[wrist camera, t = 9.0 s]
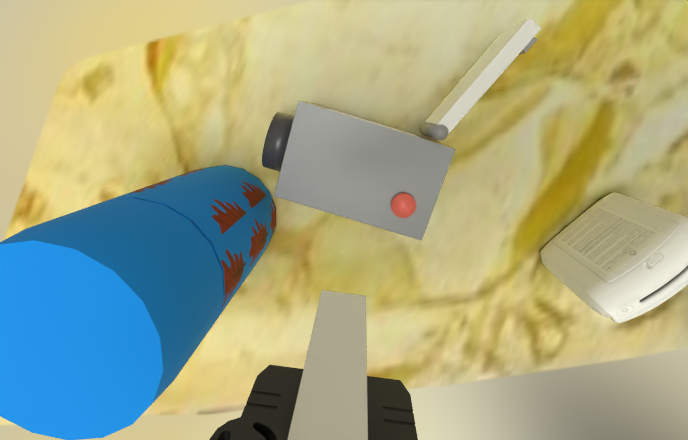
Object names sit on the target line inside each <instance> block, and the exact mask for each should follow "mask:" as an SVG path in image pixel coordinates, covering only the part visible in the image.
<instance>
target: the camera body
mask: <svg viewBox="0 0 688 440" xmlns="http://www.w3.org/2000/svg"><path fill="white" fill-rule="evenodd" d="M454 151H455V149H454V148H451V147H449V146H446V145H444V144H442V143H439V142H436V141H433V140H430V139H427V138H423V137H420V136H417V135H414V134H411V133H408V132H405V131H402V130H398V129H395V128H392V127H389V126H386V125H382V124H379V123H376V122H373V121H369V120H366V119H363V118H360V117H356V116H353V115H350V114H347V113H343V112H340V111H337V110H334V109H329V108H326V107H323V106H320V105H317V104H313V103H309V102H303V101H298V104H297V108H296V112H295V116H294V117H293V116H289V115H286V114H283V113H280V112H277V113H276V114H275V116H274V118H273V120H272V122H271V124H270V127H269V130H268V133H267V136H266V140H265V144H264V149H263V155H262V164H263V167H267V168H270V169H273V170H276V171H280V175H279V178H278V182H277V186H276V190H275V194H274V196H275V197H279V198H282V199H285V200H289V201H292V202H295V203H299V204H302V205H305V206H309V207H312V208H315V209H319V210H322V211H325V212H329V213H332V214H335V215H339V216H342V217H345V218H349V219H352V220H355V221H359V222H362V223H365V224H368V225H372V226H375V227H378V228H382V229H385V230H388V231H392V232H395V233H398V234H402V235H405V236H408V237H412V238H415V239H418V240H422V238H423V235H424V232H425V230H426V227H427V224H428V222H429V219H430V216H431V214H432V211H433V208H434V205H435V203H436V200H437V197H438V195H439V192H440V189H441V186H442V184H443V181H444V178H445V176H446V173H447V170H448V167H449V165H450V162H451V159H452V157H453V154H454Z"/></svg>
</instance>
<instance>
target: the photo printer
mask: <svg viewBox="0 0 688 440" xmlns="http://www.w3.org/2000/svg"><path fill="white" fill-rule="evenodd" d="M540 254H541V260H542V263H543V264H544V266H545V267H546V268H547V269H548V270H549V271H550V272H552V273H553V274H554V275H555V276H556V277H557V278H558V279H559V280H560V281H561V282H563V283H564V284H565V285H566V286H567V287H568V288H569V289H570V290H571V291H573V292H574V293H575V294H576V295H577V296H578V297H579V298H580V299H582V300H583V301H584V302H585V303H586V304H587V305H588V306H590V307H591V308H592V309H593V310H595V311H596V312H597V313H599V314H601V315H603V316H605V317H609V318H610V319H612V320H613V321H614V322H616V323H621V322H624V321H627V320H630V319H633V318H635V317H637V316H640V315H642V314H643V313H645V312H647V311H649V310H651V309H653V308H655V307H656V306H658V305H660V304H661V303H663V302H664V301H666V300H668V299H669V298H671V297H672V296H673V295H675V294H676V293H678V292H679V291H680V290H681V289H683V288H684V287H685V286H687V285H688V217H686V216H683V215H681V214H678V213H675V212H672V211H669V210H666V209H663V208H660V207H657V206H654V205H651V204H648V203H645V202H642V201H640V200H637V199H634V198H631V197H628V196H625V195H622V194H619V193H616V192H613V193H610V194H609V195H607V196H605V197H604V198H602V199H601V200H599V201H598V202H597V203H596V204H594V205H593V206H592V207H591V208H589V209H588V210H587V211H586V212H584V213H583V214H582V215H581V216H579V217H578V218H577V219H576V220H575V221H573V222H572V223H571V224H570V225H569V226H567V227H566V228H565V229H564V230H563V231H561V232H560V233H559V234H558V235H557V236H555V237H554V238H553V239H552V240H551V241H550V242H549V243H548V244H547V245H546V246H545V247H544V248H543V249H542V250H541V252H540Z"/></svg>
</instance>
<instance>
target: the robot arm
mask: <svg viewBox="0 0 688 440" xmlns="http://www.w3.org/2000/svg"><path fill="white" fill-rule="evenodd" d="M210 440H418V439H417V433H416V427H415V421H414V415H413V409H412V403H411V396H410V394H409V392H408V391H407V389H406V388H405V386H404V385H403V384H402V382H401V381H400V380H393V379H385V378H378V377H370V376H367V346H366V296H364V295H356V294H348V293H340V292H332V291H324V290H322V292H321V296H320V301H319V305H318V309H317V314H316V318H315V322H314V327H313V331H312V335H311V340H310V344H309V348H308V353H307V357H306V361H305V366H304V369H298V368H290V367H283V366H275V365H269V366H268V367H267V368H266V369H265V370H263V371H262V372H261V373H260V374H259V375H258V376H257V378H256V381H255V383H254V386H253V388H252V391H251V393H250V396H249V398H248V401H247V404H246V406H245V408H244V411H243V413H242V416H241V417H240V418H237V419H234V420H231V421H228V422H227V423H225V424H224V425H222V426H221V427H219V428H218V429H217V430H216V431H215V433H214V434H213V435H212V437H211V438H210Z"/></svg>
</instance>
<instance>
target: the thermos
mask: <svg viewBox="0 0 688 440" xmlns="http://www.w3.org/2000/svg"><path fill="white" fill-rule="evenodd" d="M275 226H276V207H275V205H274V202H273V199H272V197H271V194H270V192H269V191H268V189H267V188H266V187H265V186H264V184H263V183H262V182H261V181H260V180H259V178H257V177H255V176H254V175H252V174H250V173H249V172H247V171H246V170H244V169H241V168H236V167H232V166H227V165H224V166H217V167H209V168H204V169H199V170H195V171H191V172H188V173H185V174H182V175H180V176H177V177H174V178H171V179H168V180H165V181H162V182H159V183H157V184H154V185H151V186H148V187H145V188H142V189H139V190H136V191H134V192H131V193H128V194H125V195H122V196H119V197H116V198H113V199H111V200H108V201H106V202H102V203H99V204H96V205H93V206H90V207H88V208H85V209H82V210H79V211H76V212H73V213H70V214H67V215H65V216H62V217H59V218H56V219H53V220H50V221H47V222H44V223H42V224H39V225H36V226H33V227H30V228H27V229H25V230H23V231H21V232H19V233H17V234H15V235H13V236H11V237H9V238H8V239H6V240H4V241H2V242H0V416H1V417H3V418H5V419H7V420H9V421H11V422H13V423H15V424H17V425H18V426H20V427H23V428H24V429H26V430H28V431H30V432H32V433H37V434H41V435H46V436H51V437H55V438H60V439H65V440H78V439H90V438H102V437H105V436H107V435H109V434H112V433H114V432H116V431H118V430H121V429H123V428H125V427H127V426H130V425H132V424H133V423H134V422H135V421H136V420H137V419H138V418H139V417H140V416H141V415H142V414H143V413H144V411H145V410H146V409H147V408H148V407H149V406H150V405H151V404H152V403H153V402H154V401H155V400H156V399H157V398H158V397H159V396H160V395H161V394H162V392H163V391H164V390H165V389H166V388H167V387H168V386H169V385H170V384H171V383H172V382H173V381H174V379H175V378H176V377H177V375H178V374H179V372H180V371H181V369H182V368H183V367H184V365H185V364H186V362H187V361H188V360H189V358H190V357H191V355H192V354H193V352H194V351H195V350H196V348H197V347H198V345H199V344H200V343H201V341H202V340H203V338H204V337H205V335H206V334H207V333H208V331H209V330H210V328H211V327H212V326H213V324H214V323H215V321H216V320H217V318H218V317H219V316H220V314H221V313H222V311H223V310H224V309H225V307H226V306H227V304H228V303H229V301H230V300H231V299H232V297H233V296H234V294H235V293H236V292H237V290H238V289H239V287H240V286H241V284H242V283H243V282H244V280H245V279H246V277H247V276H248V274H249V273H250V272H251V270H252V269H253V267H254V266H255V265H256V263H257V262H258V260H259V259H260V257H261V256H262V255H263V253H264V251H265V249H266V247H267V246H268V244H269V242H270V240H271V237H272V234H273V232H274V229H275Z"/></svg>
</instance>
